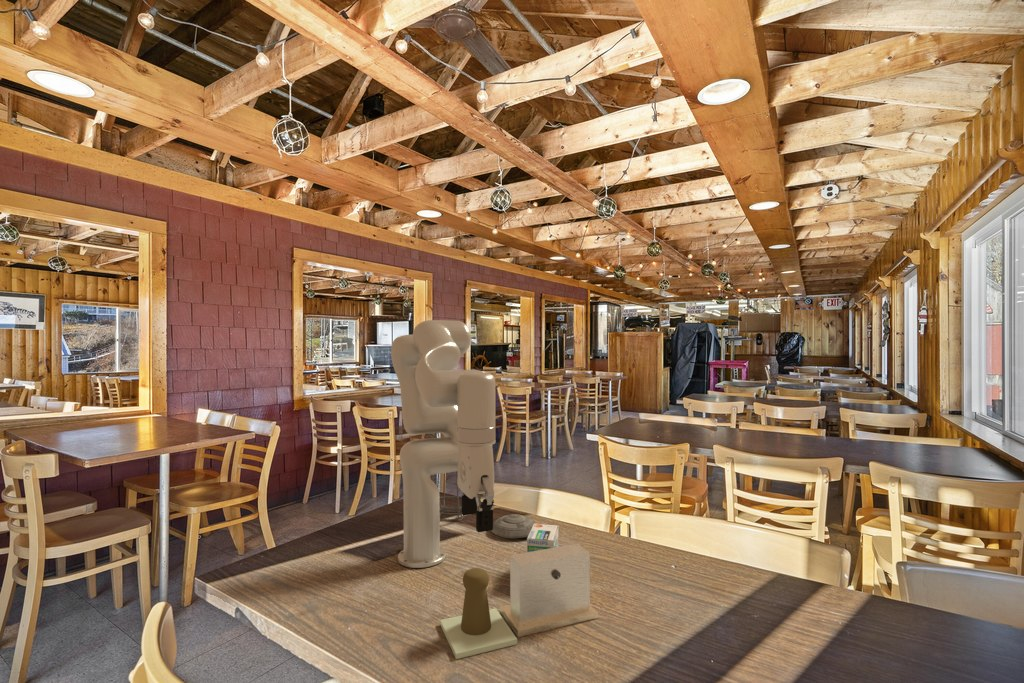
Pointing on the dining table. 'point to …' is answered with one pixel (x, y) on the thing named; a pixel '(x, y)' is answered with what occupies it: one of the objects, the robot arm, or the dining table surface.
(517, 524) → the flying saucer
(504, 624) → the mat
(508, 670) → the dining table surface
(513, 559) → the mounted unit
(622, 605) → the dining table surface
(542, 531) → the light bulb box
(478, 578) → the brown pawn
